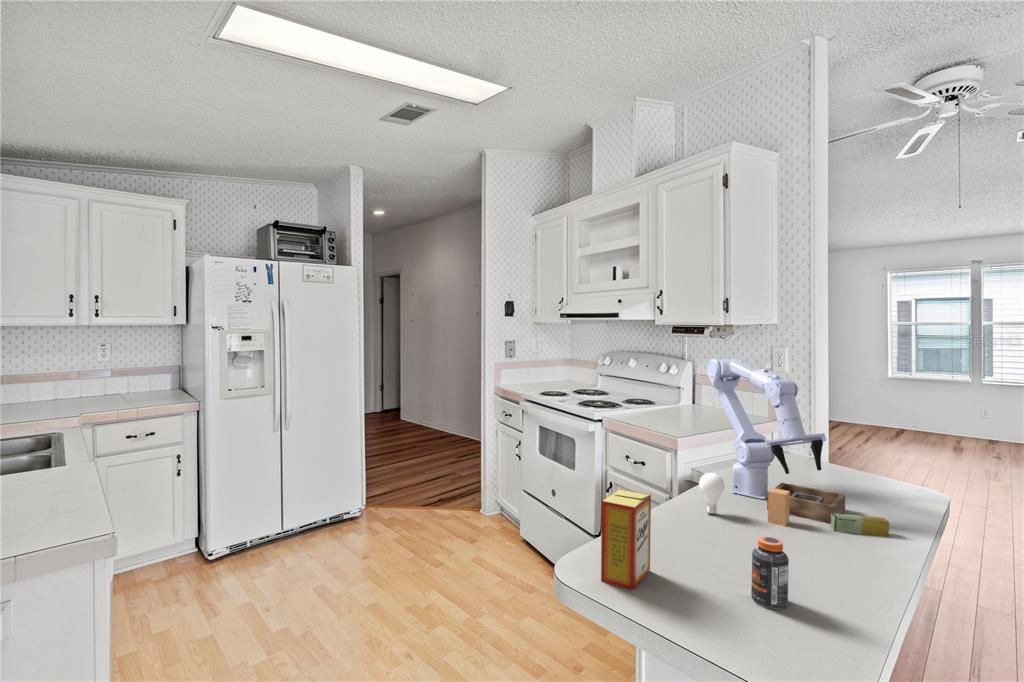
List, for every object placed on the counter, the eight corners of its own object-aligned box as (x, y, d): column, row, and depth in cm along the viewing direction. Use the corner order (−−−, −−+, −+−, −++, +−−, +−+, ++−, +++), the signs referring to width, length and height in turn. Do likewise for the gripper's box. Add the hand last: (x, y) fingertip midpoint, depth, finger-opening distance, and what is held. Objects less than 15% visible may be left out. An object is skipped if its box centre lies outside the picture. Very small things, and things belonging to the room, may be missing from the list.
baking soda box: (633, 590, 97) (634, 505, 97) (601, 581, 101) (601, 499, 101) (649, 571, 105) (650, 492, 105) (619, 563, 109) (620, 487, 108)
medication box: (833, 532, 127) (834, 516, 127) (829, 528, 130) (830, 512, 130) (889, 537, 124) (890, 521, 124) (884, 532, 127) (884, 516, 127)
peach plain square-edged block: (767, 522, 133) (768, 491, 133) (772, 518, 136) (773, 488, 136) (784, 526, 130) (785, 494, 130) (789, 522, 133) (789, 491, 133)
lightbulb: (698, 516, 137) (698, 474, 137) (699, 508, 143) (699, 468, 143) (724, 519, 134) (724, 477, 134) (724, 511, 140) (724, 471, 140)
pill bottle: (744, 593, 96) (745, 533, 96) (775, 592, 97) (776, 532, 97) (762, 611, 90) (764, 546, 90) (795, 609, 91) (796, 545, 91)
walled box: (767, 509, 142) (767, 493, 142) (781, 497, 153) (781, 482, 153) (834, 524, 132) (834, 507, 132) (845, 510, 142) (845, 494, 142)
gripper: (761, 423, 141) (774, 474, 136) (821, 414, 137) (836, 467, 132) (760, 427, 147) (772, 475, 143) (817, 419, 143) (832, 469, 138)
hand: (803, 472), depth 138 cm, fingers open, 7 cm apart
